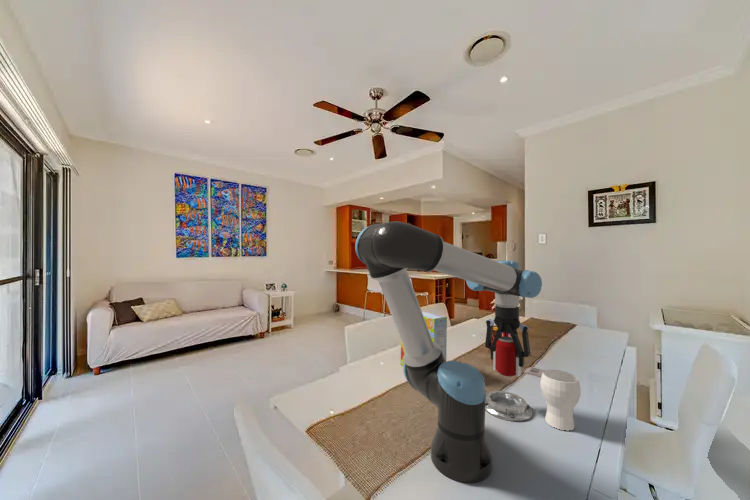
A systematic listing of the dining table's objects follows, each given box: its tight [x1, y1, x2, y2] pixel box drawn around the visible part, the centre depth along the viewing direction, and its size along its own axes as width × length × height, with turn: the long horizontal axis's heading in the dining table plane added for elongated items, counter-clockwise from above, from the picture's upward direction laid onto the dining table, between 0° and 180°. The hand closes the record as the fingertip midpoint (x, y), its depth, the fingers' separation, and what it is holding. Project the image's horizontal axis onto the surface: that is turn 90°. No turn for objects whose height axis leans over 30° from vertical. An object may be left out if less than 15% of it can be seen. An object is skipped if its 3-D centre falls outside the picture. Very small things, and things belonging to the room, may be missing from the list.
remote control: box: [523, 366, 546, 378], centre depth 127 cm, size 7×16×3 cm, turn 49°
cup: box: [539, 369, 582, 432], centre depth 91 cm, size 11×11×15 cm
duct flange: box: [485, 390, 534, 423], centre depth 100 cm, size 16×16×3 cm
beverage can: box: [496, 336, 518, 378], centre depth 100 cm, size 7×7×12 cm
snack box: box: [400, 310, 448, 367], centre depth 131 cm, size 22×9×26 cm, turn 36°
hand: (506, 372), depth 100 cm, fingers closed on beverage can, 7 cm apart
